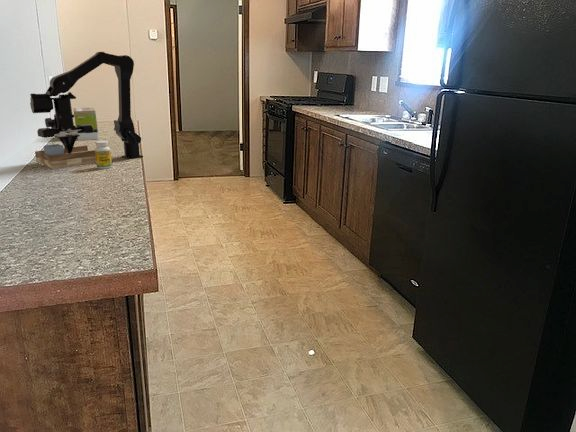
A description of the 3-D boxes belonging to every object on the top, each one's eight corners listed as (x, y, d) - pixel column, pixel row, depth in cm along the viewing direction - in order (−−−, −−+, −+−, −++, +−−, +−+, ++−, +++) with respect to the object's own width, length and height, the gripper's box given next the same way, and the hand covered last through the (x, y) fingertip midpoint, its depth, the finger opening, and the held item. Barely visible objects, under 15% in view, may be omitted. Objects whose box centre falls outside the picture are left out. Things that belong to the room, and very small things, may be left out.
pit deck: (104, 161, 185) (103, 149, 184) (52, 168, 171) (50, 156, 170) (87, 156, 194) (86, 145, 193) (36, 163, 180) (34, 151, 178)
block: (64, 159, 175) (63, 145, 174) (51, 160, 172) (49, 147, 170) (59, 157, 178) (57, 144, 177) (45, 159, 175) (43, 145, 173)
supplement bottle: (110, 165, 177) (107, 140, 174) (113, 168, 173) (111, 142, 170) (95, 167, 174) (92, 141, 172) (98, 169, 170) (95, 143, 167)
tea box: (76, 136, 246) (72, 107, 242) (97, 135, 250) (93, 107, 246) (77, 140, 233) (73, 110, 229) (99, 139, 237) (95, 109, 233)
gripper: (78, 108, 186) (83, 148, 190) (28, 112, 172) (35, 154, 177) (91, 110, 178) (96, 151, 183) (40, 114, 165) (47, 158, 170)
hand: (69, 153), depth 179 cm, fingers closed
